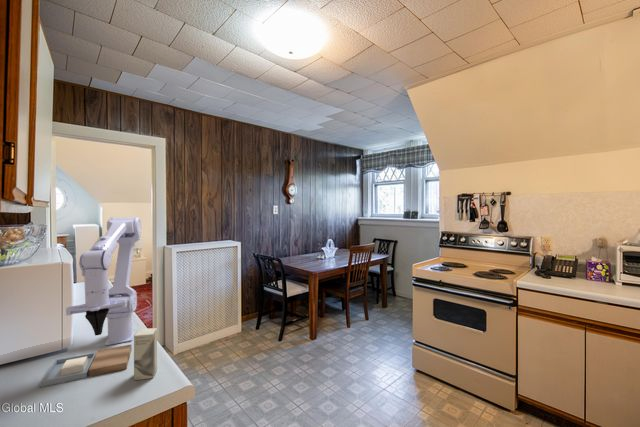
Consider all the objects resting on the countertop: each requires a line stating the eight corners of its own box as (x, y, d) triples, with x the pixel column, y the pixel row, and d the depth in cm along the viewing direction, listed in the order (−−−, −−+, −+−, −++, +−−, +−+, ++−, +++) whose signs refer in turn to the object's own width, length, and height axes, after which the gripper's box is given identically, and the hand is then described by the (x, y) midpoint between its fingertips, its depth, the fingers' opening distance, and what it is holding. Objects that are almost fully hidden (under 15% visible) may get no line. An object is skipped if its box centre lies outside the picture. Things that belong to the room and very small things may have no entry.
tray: (55, 364, 91) (55, 359, 91) (96, 356, 95) (96, 352, 95) (40, 387, 80) (40, 381, 80) (86, 377, 84) (86, 372, 84)
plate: (98, 356, 95) (98, 350, 95) (131, 350, 99) (131, 344, 99) (88, 376, 85) (88, 370, 84) (126, 369, 89) (126, 362, 88)
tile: (66, 366, 89) (66, 360, 89) (87, 362, 91) (87, 356, 91) (61, 375, 85) (61, 368, 84) (83, 371, 87) (83, 364, 87)
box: (133, 381, 83) (132, 335, 82) (138, 372, 87) (137, 329, 86) (154, 378, 84) (153, 333, 83) (158, 369, 88) (157, 327, 88)
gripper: (61, 297, 83) (63, 344, 84) (123, 290, 89) (124, 334, 90) (69, 290, 90) (71, 334, 90) (126, 284, 96) (128, 325, 97)
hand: (98, 333), depth 91 cm, fingers closed
